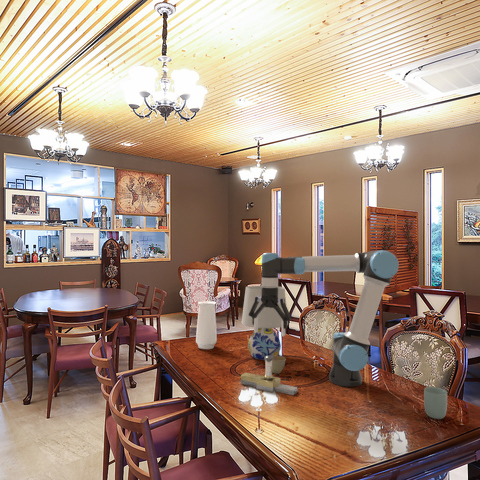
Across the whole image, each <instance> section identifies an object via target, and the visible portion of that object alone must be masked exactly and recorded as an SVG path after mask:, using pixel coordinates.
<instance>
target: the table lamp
mask: <svg viewBox="0 0 480 480" xmlns="http://www.w3.org/2000/svg"><path fill="white" fill-rule="evenodd" d="M262 287H263V286H262V285H249V286H245V291H244V292H245V293H244V298H243V299H244V301H243V307H242V309H243V310H242V315H241V316H242V317H241V324H242V325H243V326H246V327H250V328H254V325H253V324H252V317H251V316H249V312H250V310H251V308H252V306H253V304H254V302H255V297H257V296H259V297H262V294H261V292H262ZM277 288H278V299H282V298H284V299H285V304H286V305H287V301H286V289H285V287H283V286H279V285H278V286H277ZM261 304H262V301H261V300H260V301H259V303H258V306H257V308H256V310H255V312H256V311H257V309H258V308H259V307H260V305H261ZM277 304H278V305H279V307H280V309H281V310H282V312H283V313H284V311H283V309H282V307H281V304H280V303H279V302H278V303H277ZM255 312H254V313H255ZM257 317H258V332H256V333H254V331H253V332H252V334H251V335H250V337H249V339H248V343H247V349H248V351H249V353H250V355H251V357H252V358H254V359H256V360H260V361H261V360H262V361H265V359H264V356H267V355H270V356H274V355H275V356H279V353H280V352H281V349H282V348H281V346H282V345H281V340H280V337H279V335H278V334H277V332H276V331H275V330H274V329H278V328H281V322H282V321H283V320H282V318H281V317H280V315H279V314H278V313H277V311H276V310H275V309H274V308H270V307H264V308H263V309H262V311H261V312H260V313H259V314H258V315H257ZM288 325H289V320H288V321H287V326H288Z"/></svg>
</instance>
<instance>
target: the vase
mask: <svg viewBox="0 0 480 480" xmlns="http://www.w3.org/2000/svg"><path fill="white" fill-rule="evenodd" d="M197 304H198V311H197V312H198V313H197V322H196V323H197V324H196V336H195V343H196V344H197V347H198V349H201V350H212V349H214V348H215V344H217V340H218V337H217V335H218V334H217V318H216V316H217V315H216V304H217V302H216V301H206V300H205V301H198V302H197Z"/></svg>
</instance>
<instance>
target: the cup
mask: <svg viewBox="0 0 480 480" xmlns="http://www.w3.org/2000/svg"><path fill="white" fill-rule="evenodd" d="M423 402H424V411H425V413H426V415H427V416H428V417H429V418H431V419H435V420H442V419H444V418H445V417H446V415H447V409H448V392H447V390H445V389H443V388H440V387H435V386H427V387H426V386H425V387H424V390H423Z"/></svg>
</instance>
